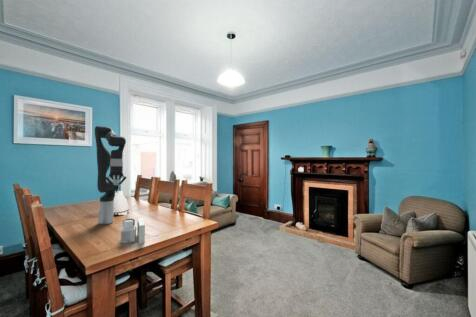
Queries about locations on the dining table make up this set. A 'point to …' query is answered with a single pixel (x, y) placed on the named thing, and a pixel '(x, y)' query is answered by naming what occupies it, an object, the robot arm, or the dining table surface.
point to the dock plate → (141, 230)
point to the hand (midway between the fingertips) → (115, 190)
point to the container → (128, 231)
